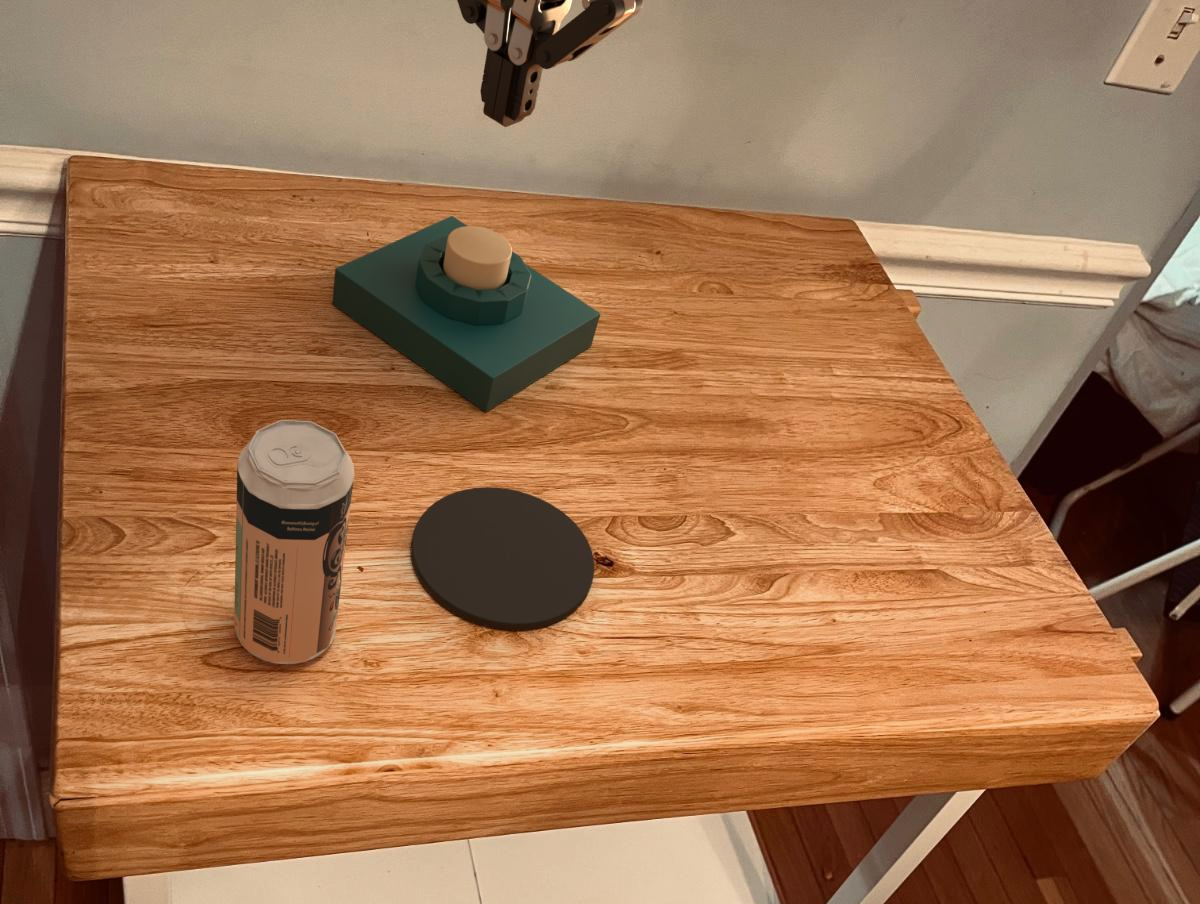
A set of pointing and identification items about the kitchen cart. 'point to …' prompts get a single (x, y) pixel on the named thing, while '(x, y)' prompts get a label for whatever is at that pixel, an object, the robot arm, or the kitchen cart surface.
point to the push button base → (464, 317)
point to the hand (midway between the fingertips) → (504, 117)
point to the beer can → (290, 540)
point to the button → (477, 258)
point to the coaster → (502, 558)
